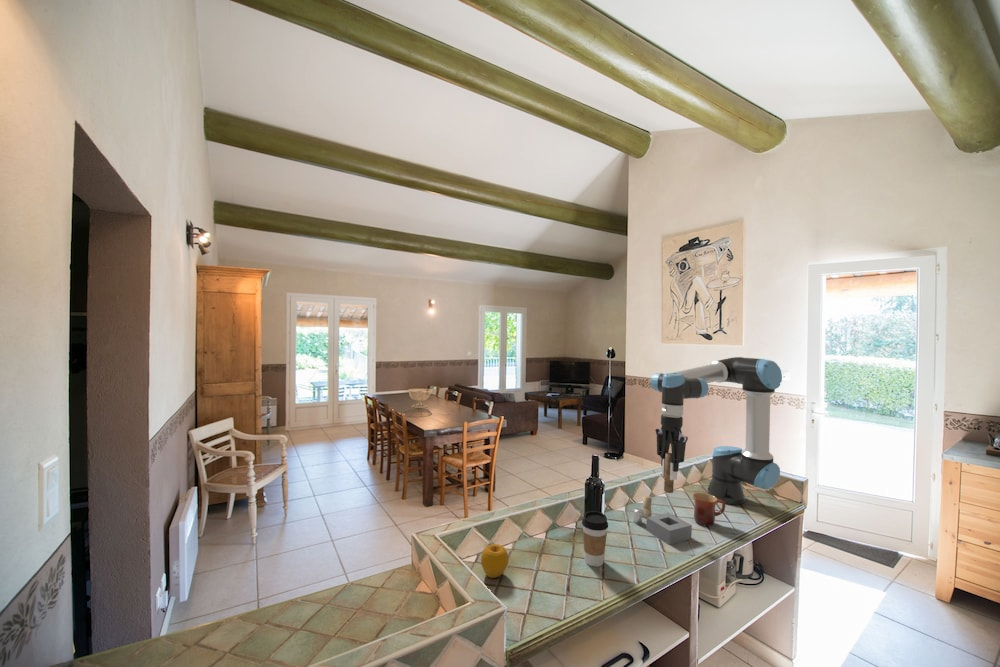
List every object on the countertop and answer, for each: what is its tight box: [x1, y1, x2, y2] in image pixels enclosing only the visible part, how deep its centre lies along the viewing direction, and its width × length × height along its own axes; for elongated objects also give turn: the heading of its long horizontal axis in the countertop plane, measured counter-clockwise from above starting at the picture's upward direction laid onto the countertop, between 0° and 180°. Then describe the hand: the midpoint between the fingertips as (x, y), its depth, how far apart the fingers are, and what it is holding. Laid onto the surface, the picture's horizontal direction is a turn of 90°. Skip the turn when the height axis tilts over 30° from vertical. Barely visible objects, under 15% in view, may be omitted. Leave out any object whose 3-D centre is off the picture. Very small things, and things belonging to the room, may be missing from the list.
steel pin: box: [633, 507, 643, 526], centre depth 164 cm, size 3×3×5 cm
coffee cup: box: [581, 510, 609, 568], centre depth 136 cm, size 8×8×15 cm
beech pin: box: [642, 495, 653, 519], centre depth 169 cm, size 3×3×8 cm
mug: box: [692, 492, 726, 527], centre depth 165 cm, size 12×9×10 cm
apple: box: [480, 543, 509, 579], centre depth 128 cm, size 8×8×9 cm
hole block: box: [645, 512, 693, 545], centre depth 155 cm, size 11×11×5 cm
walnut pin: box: [663, 452, 675, 494], centre depth 156 cm, size 3×3×14 cm
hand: (669, 477), depth 156 cm, fingers closed on walnut pin, 3 cm apart
